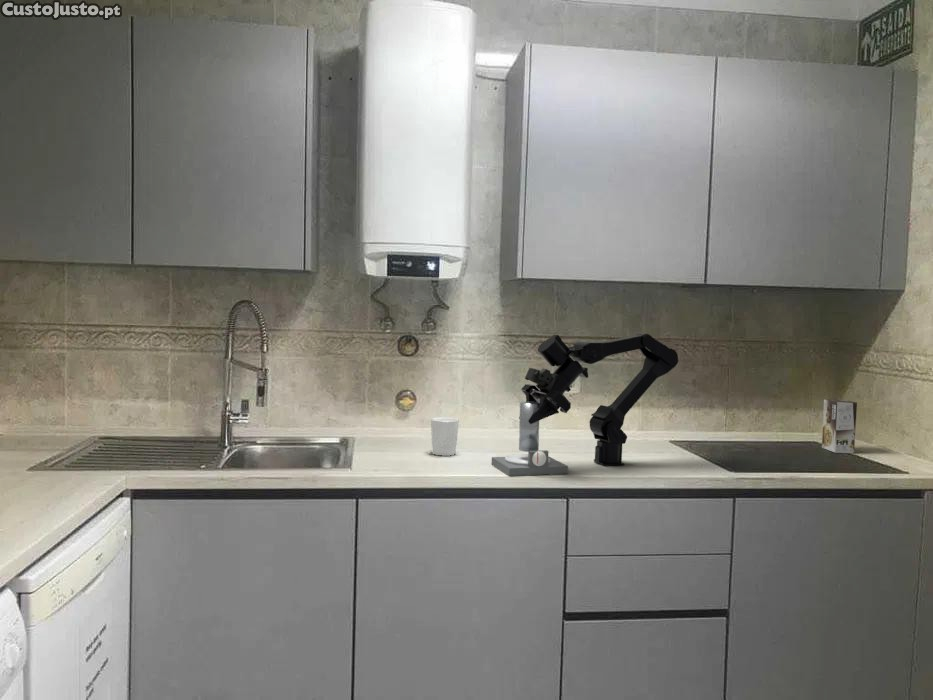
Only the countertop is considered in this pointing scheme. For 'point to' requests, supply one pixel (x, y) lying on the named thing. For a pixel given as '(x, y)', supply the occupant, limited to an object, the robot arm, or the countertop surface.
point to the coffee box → (839, 425)
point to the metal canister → (528, 428)
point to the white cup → (444, 435)
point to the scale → (529, 464)
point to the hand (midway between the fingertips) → (524, 421)
